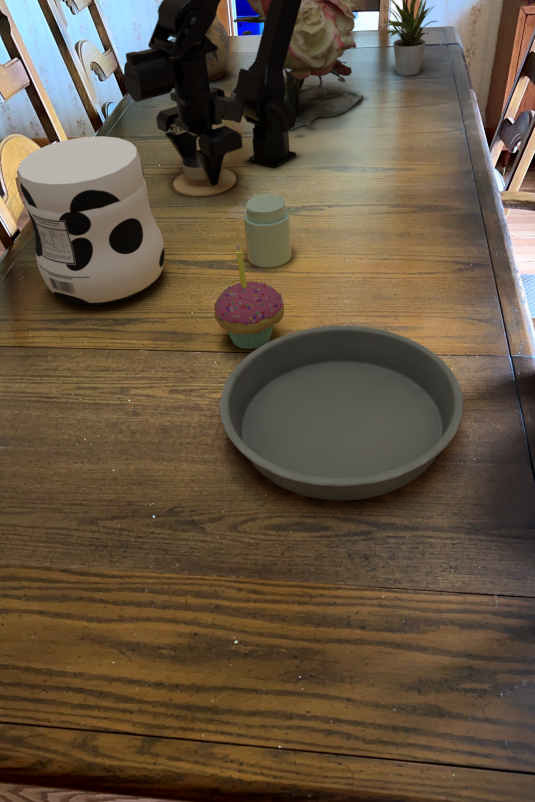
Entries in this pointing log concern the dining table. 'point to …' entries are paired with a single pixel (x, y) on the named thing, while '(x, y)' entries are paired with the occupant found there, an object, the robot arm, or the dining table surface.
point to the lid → (194, 168)
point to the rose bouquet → (314, 56)
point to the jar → (267, 231)
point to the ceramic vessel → (219, 58)
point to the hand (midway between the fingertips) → (204, 178)
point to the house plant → (408, 38)
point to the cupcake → (248, 310)
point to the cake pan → (341, 411)
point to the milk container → (92, 219)
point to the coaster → (204, 184)
